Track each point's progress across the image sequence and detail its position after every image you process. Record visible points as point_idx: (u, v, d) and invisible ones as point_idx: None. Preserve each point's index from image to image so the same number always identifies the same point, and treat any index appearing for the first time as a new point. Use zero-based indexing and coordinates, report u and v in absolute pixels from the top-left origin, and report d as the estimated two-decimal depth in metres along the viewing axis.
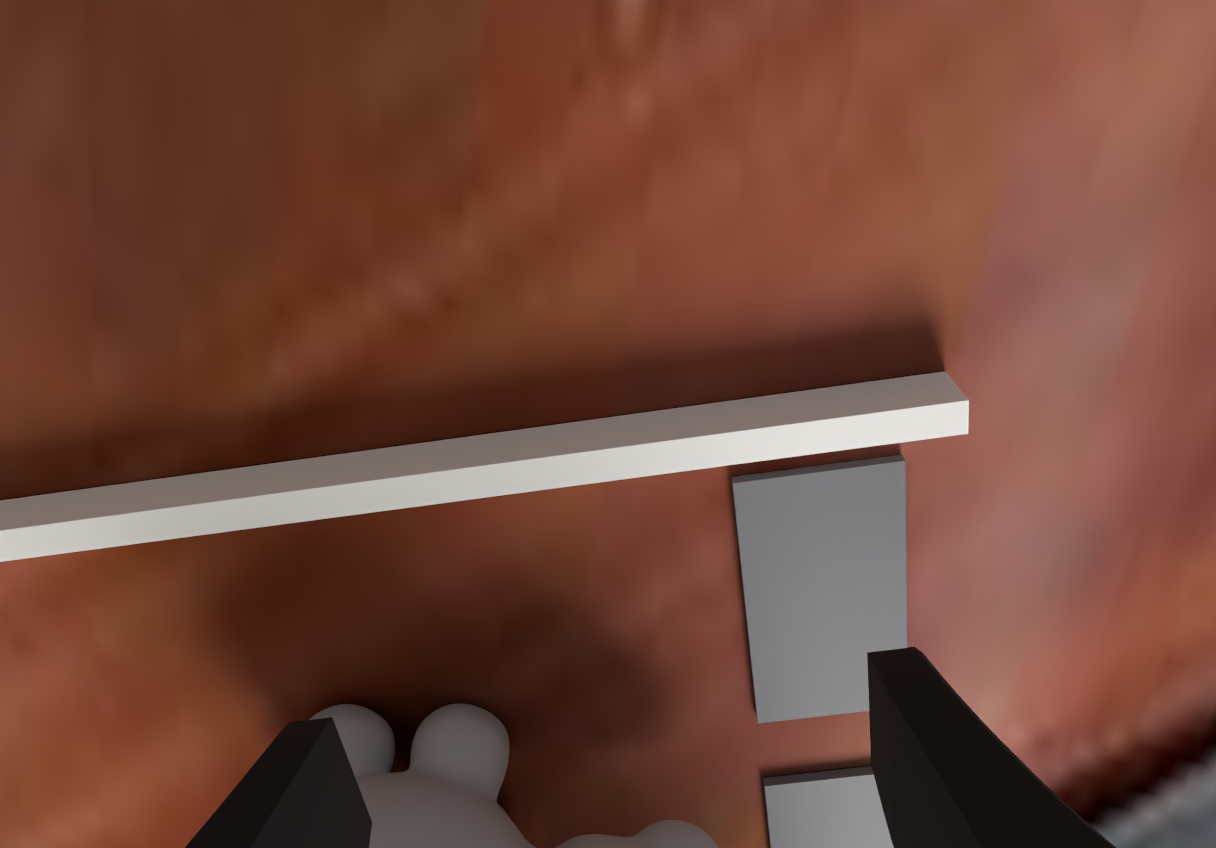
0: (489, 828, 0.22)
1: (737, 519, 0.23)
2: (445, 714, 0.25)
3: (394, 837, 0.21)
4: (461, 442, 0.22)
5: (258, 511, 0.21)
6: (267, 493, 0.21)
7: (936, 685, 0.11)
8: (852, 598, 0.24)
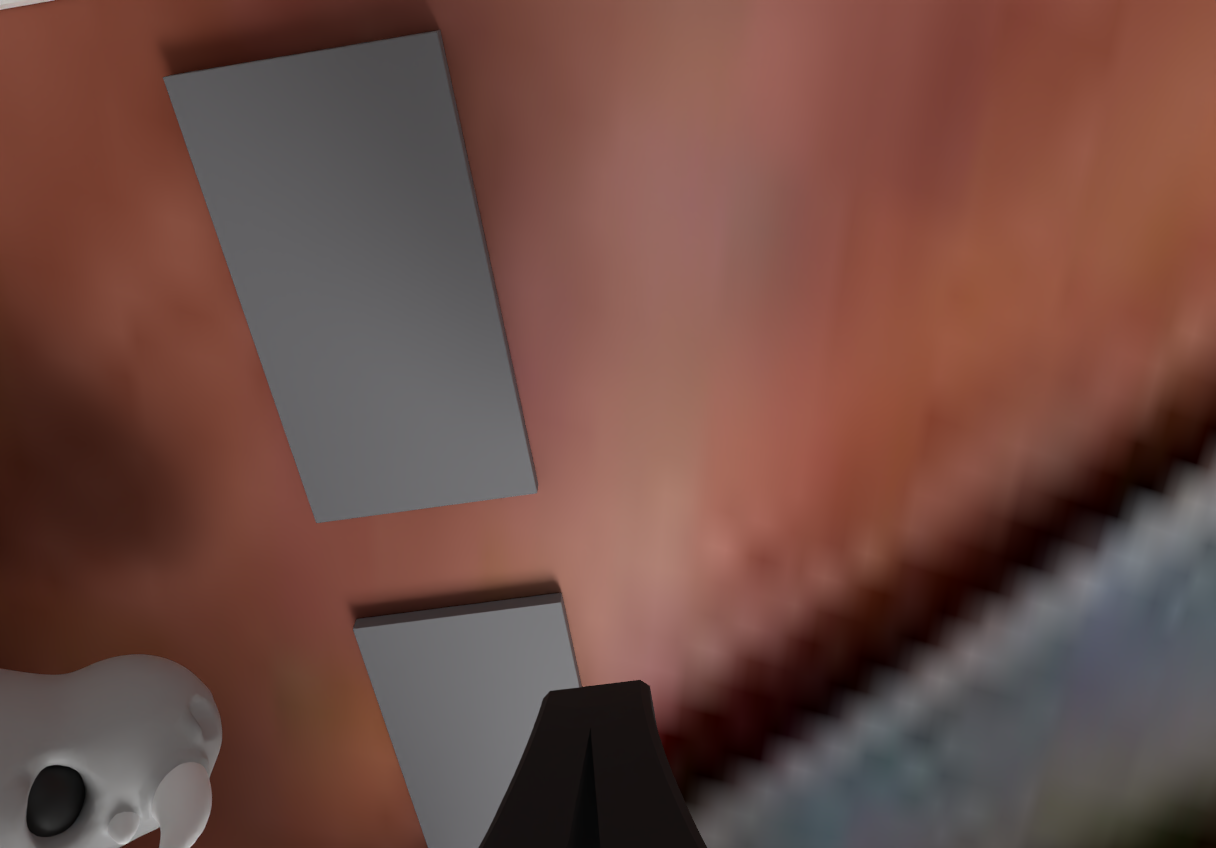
0: None
1: (188, 148, 0.14)
2: None
3: None
4: None
5: None
6: None
7: (637, 720, 0.11)
8: (410, 300, 0.15)
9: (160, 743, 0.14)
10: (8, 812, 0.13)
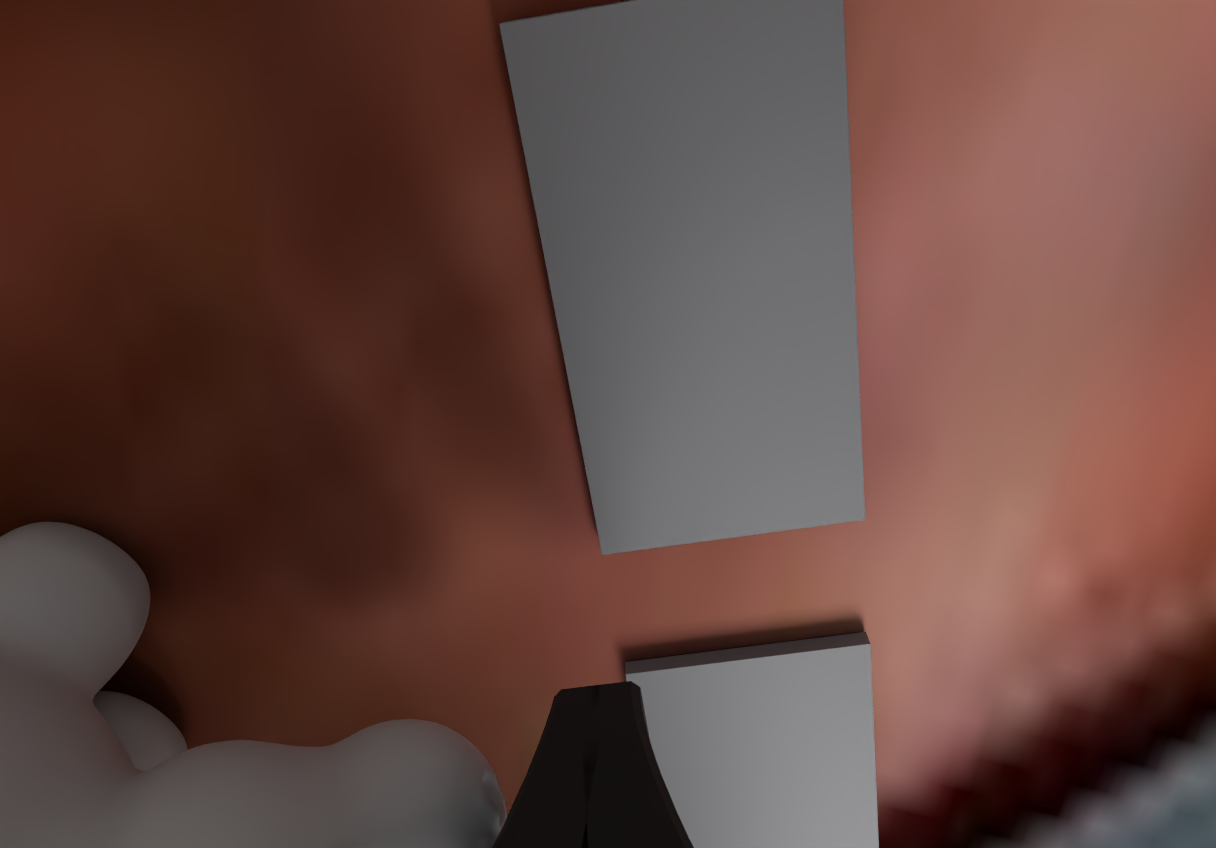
0: None
1: (518, 111, 0.12)
2: (11, 536, 0.14)
3: None
4: None
5: None
6: None
7: (627, 721, 0.11)
8: (755, 294, 0.13)
9: (462, 833, 0.12)
10: None
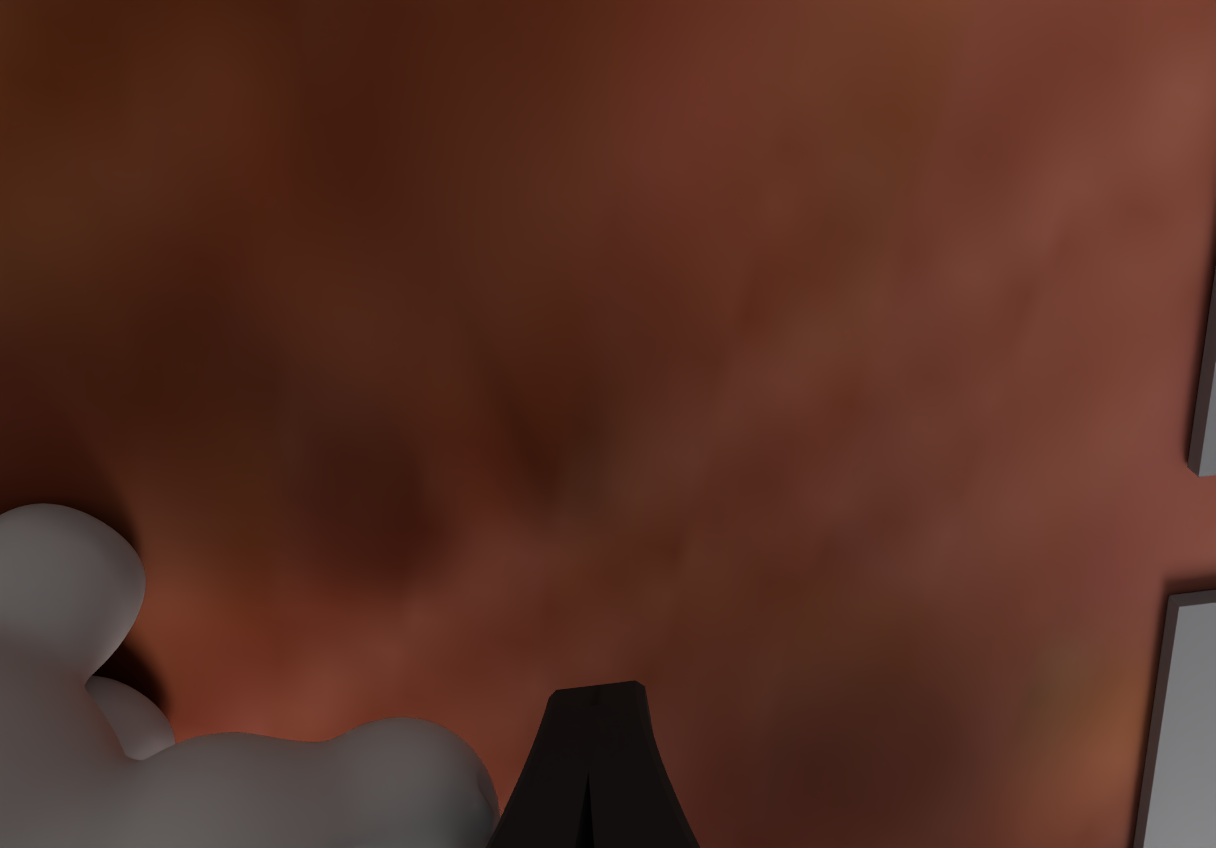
0: None
1: None
2: (8, 516, 0.14)
3: None
4: None
5: None
6: None
7: (632, 721, 0.11)
8: None
9: (458, 835, 0.12)
10: None
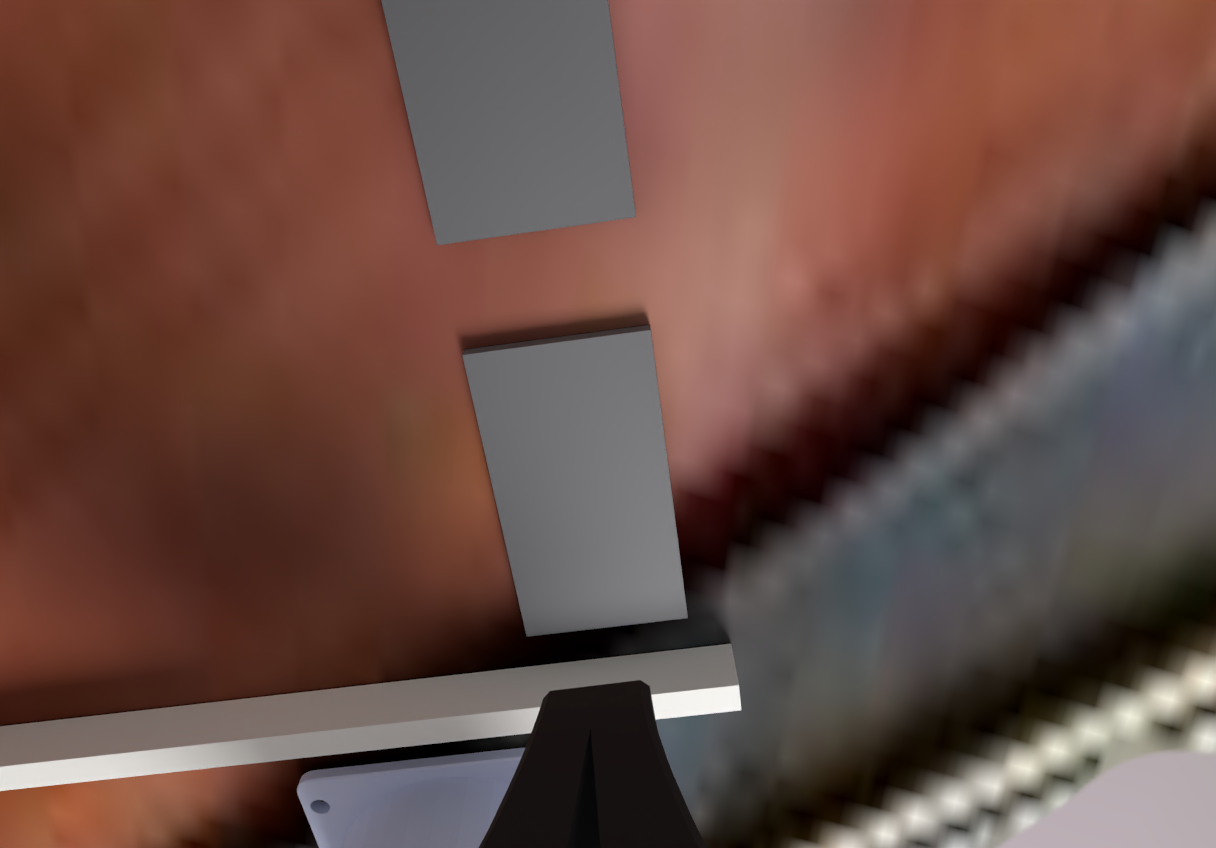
0: None
1: None
2: None
3: None
4: None
5: None
6: None
7: (637, 720, 0.11)
8: (536, 20, 0.17)
9: None
10: None
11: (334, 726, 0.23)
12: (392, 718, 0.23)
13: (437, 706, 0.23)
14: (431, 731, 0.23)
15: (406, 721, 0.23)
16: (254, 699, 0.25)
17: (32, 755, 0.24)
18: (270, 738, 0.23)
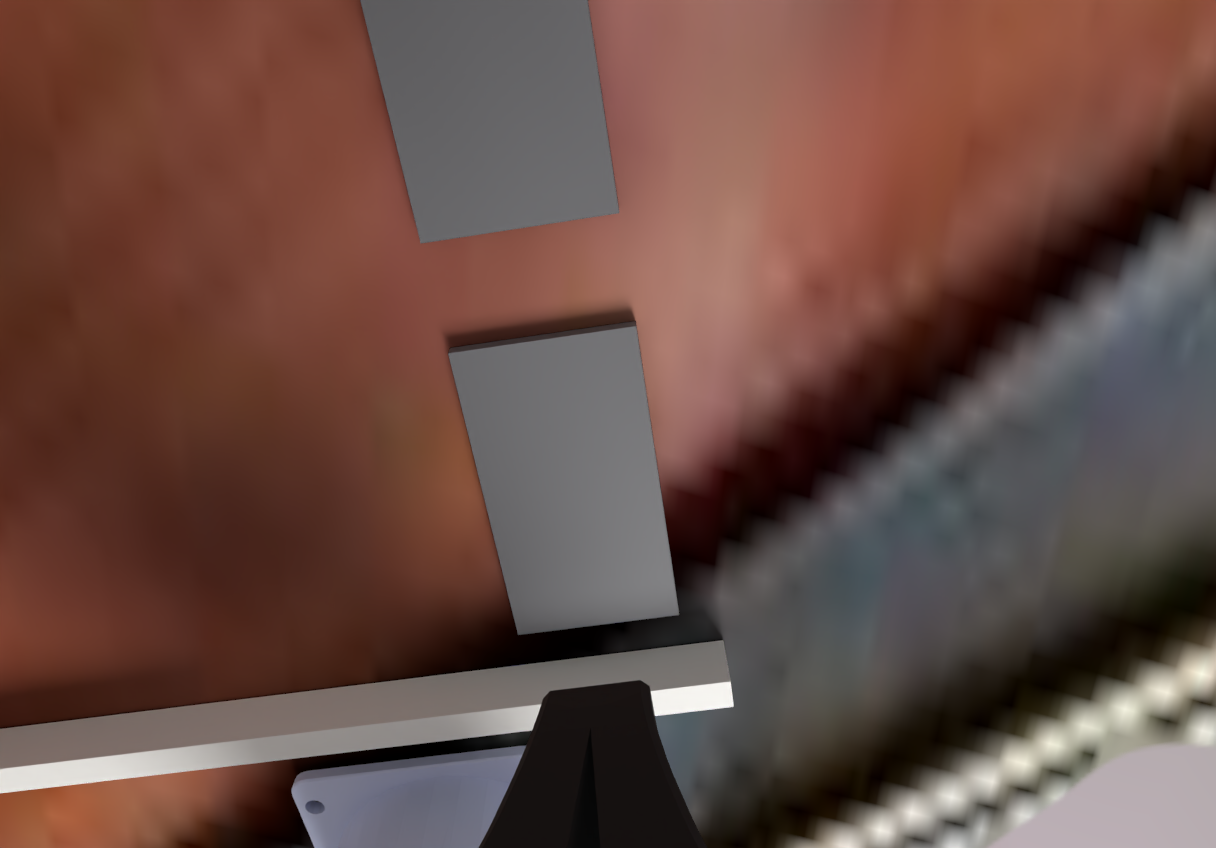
0: None
1: None
2: None
3: None
4: None
5: None
6: None
7: (637, 720, 0.11)
8: (515, 17, 0.17)
9: None
10: None
11: (326, 726, 0.23)
12: (384, 718, 0.23)
13: (429, 705, 0.23)
14: (424, 730, 0.23)
15: (398, 721, 0.23)
16: (247, 700, 0.25)
17: (26, 758, 0.24)
18: (263, 739, 0.23)
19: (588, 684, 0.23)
